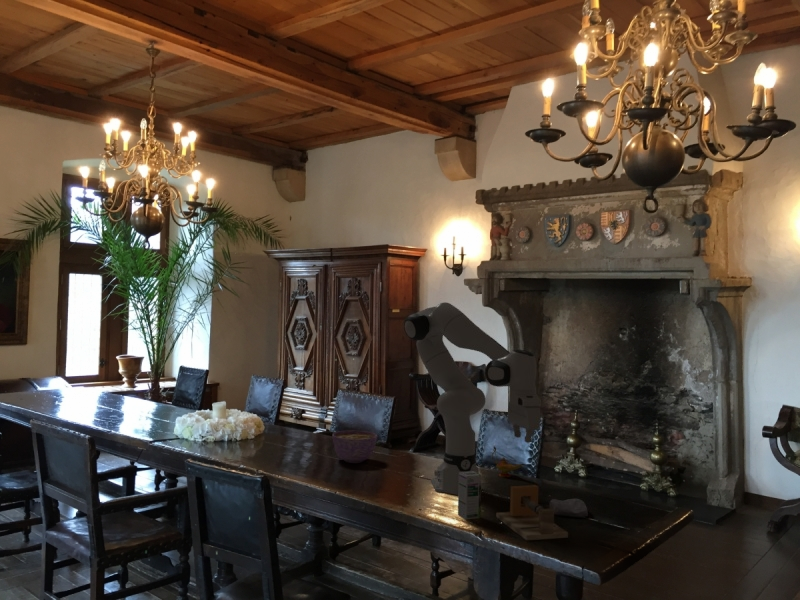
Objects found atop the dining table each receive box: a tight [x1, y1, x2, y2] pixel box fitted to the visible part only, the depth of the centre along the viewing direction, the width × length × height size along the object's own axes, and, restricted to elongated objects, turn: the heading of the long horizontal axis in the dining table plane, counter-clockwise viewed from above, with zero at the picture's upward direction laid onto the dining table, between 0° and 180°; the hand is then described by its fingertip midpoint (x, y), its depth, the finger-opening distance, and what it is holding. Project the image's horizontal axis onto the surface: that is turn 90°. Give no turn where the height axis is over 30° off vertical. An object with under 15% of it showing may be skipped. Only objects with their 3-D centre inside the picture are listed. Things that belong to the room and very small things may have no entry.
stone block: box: [548, 498, 589, 518], centre depth 226 cm, size 12×5×10 cm
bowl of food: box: [331, 430, 378, 464], centre depth 290 cm, size 20×20×12 cm
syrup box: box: [457, 471, 483, 521], centre depth 219 cm, size 6×6×14 cm
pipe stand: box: [496, 496, 569, 541], centre depth 210 cm, size 22×14×8 cm, turn 16°
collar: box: [509, 484, 539, 516], centre depth 215 cm, size 2×9×9 cm, turn 106°
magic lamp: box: [491, 446, 526, 478], centre depth 273 cm, size 7×18×11 cm, turn 41°
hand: (522, 439), depth 221 cm, fingers open, 8 cm apart
